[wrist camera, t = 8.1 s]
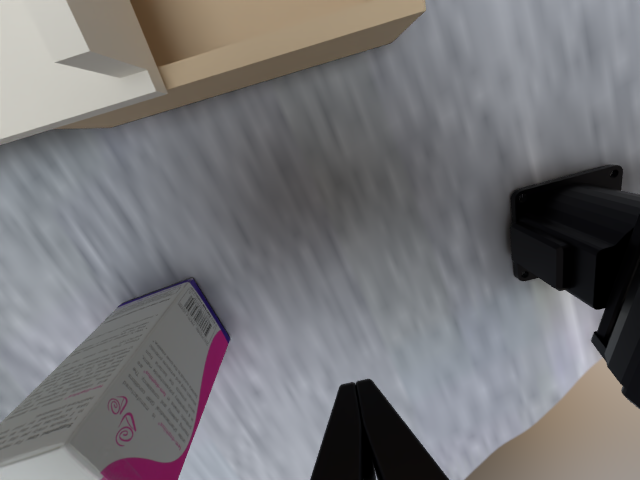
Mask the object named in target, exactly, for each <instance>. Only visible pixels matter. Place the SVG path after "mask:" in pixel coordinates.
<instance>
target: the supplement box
mask: <svg viewBox="0 0 640 480" xmlns="http://www.w3.org/2000/svg"><path fill="white" fill-rule="evenodd" d="M229 341H230V337H229V336H228V334H227V332H226V331H225V329H224V327H223V326H222V324H221V323H220V321H219V319H218V317H217V316H216V315H215V313H214V311H213V310H212V308H211V306H210V305H209V303H208V302H207V300H206V299H205V297H204V295H203V294H202V292H201V290H200V289H199V287H198V286H197V284H196V282H195V281H194V279H193V278H190V279H187V280H184V281H181V282H179V283H176V284H174V285H171V286H168V287H165V288H163V289H160V290H158V291H155V292H152V293H149V294H147V295H144V296H141V297H138V298H136V299H133V300H130V301H128V302H125V303H123V304H121V305H120V306H118V308H117V309H116V310H115V311H114V312H113V313H112V314H111V315H110V316H109V317H108V318H107V319H106V320H105V321H104V322H103V323H102V324H101V325H100V326H99V327H98V328H97V329H96V330H95V331H94V332H93V333H92V334H91V335H90V336H89V337H88V338H87V339H86V340H85V341H84V342H83V343H82V344H80V345H79V346H78V347H77V348H76V349H75V350H74V351H73V352H72V353H71V354H70V355H69V356H68V357H67V358H66V359H65V360H64V361H63V362H62V363H61V364H60V365H59V366H58V367H57V368H56V369H55V370H54V371H53V372H52V373H51V374H50V375H49V376H48V377H47V378H46V379H45V380H44V381H43V382H42V383H41V384H40V385H39V386H38V387H37V388H36V389H35V390H34V391H33V392H32V393H31V394H30V395H29V396H28V397H27V398H26V399H25V400H24V401H23V402H22V403H21V404H20V405H19V406H18V407H17V408H16V409H15V410H14V411H12V412H11V413H10V414H9V415H8V416H7V417H6V418H5V419H4V420H3V421H2V422H1V423H0V480H178V478H179V475H180V472H181V469H182V467H183V464H184V461H185V458H186V456H187V453H188V451H189V448H190V445H191V443H192V440H193V437H194V435H195V432H196V429H197V427H198V424H199V421H200V419H201V416H202V413H203V411H204V408H205V405H206V403H207V400H208V397H209V394H210V392H211V389H212V386H213V384H214V381H215V378H216V375H217V373H218V370H219V367H220V365H221V362H222V360H223V357H224V354H225V352H226V349H227V346H228V344H229Z"/></svg>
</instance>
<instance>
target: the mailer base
mask: <svg viewBox="0 0 640 480" xmlns="http://www.w3.org/2000/svg"><path fill="white" fill-rule="evenodd" d="M130 2H131V5H132V7H133V10H134V12H135V15H136V17H137V19H138V22H139V24H140V27H141V29H142V32H143V34H144V36H145V39H146V41H147V44H148V46H149V49H150V51H151V54H152V56H153V58H154V61H155V63H156V66H157V68H158V71H159V73H160V75H161V78H162V80H163V83H164V85H165V88H166V90H167V93H168V94H166V95H163V96H159V97H156V98H153V99H149V100H146V101H143V102H140V103H136V104H133V105H130V106H127V107H123V108H120V109H117V110H113V111H110V112H107V113H104V114H100V115H97V116H94V117H91V118H87V119H84V120H81V121H77V122H74V123H71V124H68V125H64V126H61V127H58V128H55V129H80V128H112V127H115V126H118V125H121V124H125V123H128V122H131V121H135V120H138V119H141V118H145V117H148V116H151V115H155V114H158V113H161V112H164V111H168V110H171V109H174V108H178V107H181V106H184V105H188V104H191V103H194V102H198V101H201V100H204V99H208V98H211V97H214V96H217V95H221V94H224V93H227V92H231V91H234V90H237V89H241V88H244V87H247V86H251V85H254V84H257V83H260V82H264V81H267V80H270V79H274V78H277V77H280V76H284V75H287V74H290V73H294V72H297V71H300V70H303V69H307V68H310V67H313V66H317V65H320V64H323V63H327V62H330V61H333V60H337V59H340V58H343V57H347V56H350V55H353V54H356V53H360V52H363V51H366V50H370V49H373V48H376V47H380V46H383V45H386V44H390V43H392V42H393V41H394V40H395V39H396V38H397V37H398V36H399V35H400V34H402V33H403V32H404V31H405V30H406V29H407V28H408V27H409V26H410V25H411V24H412V23H413V22H414V21H415V20H416V19H417V18H418V17H419V16H421V15H422V14H423V13H424V12H425V11H426V6H425V0H130Z"/></svg>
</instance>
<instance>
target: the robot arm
mask: <svg viewBox="0 0 640 480" xmlns="http://www.w3.org/2000/svg"><path fill="white" fill-rule="evenodd" d="M612 171H613V172H612ZM611 172H612V174H611ZM610 174H611V176H610ZM622 175H623V169H622V167H621V166H618V165H607V166H603V167H599V168H595V169H592V170H588V171H584V172H581V173H577V174H573V175H569V176H566V177H562V178H558V179H554V180H551V181H547V182H543V183H539V184H536V185H532V186H528V187H524V188H521V189H518V190H516V191H514V192H513V194H512V196H511V211H512V225H511V227H510V229H511V252H512V260H513V261H514V275H515V277H516V278H518V279H519V280H520V281H527V280H531V279H535V278H540V279H542V280H543V281H545V282H546V283H548V284H549V285H551V286H552V287H554V288H555V289H557V290H559V291H563V290H566V291H568V292H569V293H571V294H572V295H574V296H575V297H577V298H578V299H580V300H582V301H583V302H585V303H586V304H588V305H589V306H591V307H592V308H594V309H596V310H599V309H603V308H605V310H604V313H603V316H602V319H601V322H600V324H599V327H598V330H597V331H595V332H594V334H593V337H592V339H591V342H592V343H593V344H594V346H595V347H596V349H597V350H598V351H599V353H600V354H601V355H602V357H603V358H604V359H605V361H606V362H607V367H608V368H609V369H610V370H611V372H612V373H613V374H614V376H615V377H616V378H617V380H618V381H619V382H620V384H622V385H623V387H622V393H623V395H624V396H625V397H626V398H627V399H628V400H629V401H630V402H632V403H633V404H634V405H635V406H636V407H638V408H639V409H640V195H639V194H634V193H630V192H625V191H621V186H622ZM522 194H523V198H522V199H521V200H519V197H520V196H521V195H522ZM523 272H525V273H524V274H523V275H522V273H523ZM374 468H375V469H374ZM375 472H376V475H375ZM376 476H377V479H378V480H449V479H448V477H447V476H446V475H445V474H444V472H443V471H442V470H441V468H440V467H439V466H438V465H437V463H436V462H435V461H434V459H433V458H432V457H431V456H430V454H429V453H428V452H427V450H426V449H425V448H424V447H423V445H422V444H421V443H420V441H419V440H418V439H417V438H416V436H415V435H414V434H413V432H412V431H411V430H410V429H409V427H408V426H407V425H406V423H405V422H404V421H403V420H402V418H401V417H400V416H399V414H398V413H397V412H396V411H395V409H394V408H393V407H392V405H391V404H390V403H389V402H388V400H387V399H386V398H385V396H384V395H383V394H382V393H381V391H380V390H379V389H378V387H377V386H376V385H375V384H374V382H373V381H372V380H371V379H365V380H360V381H357V382H356V384H355V383H354V382H351V383H346V384H342V385H341V386H340V387H339V390H338V393H337V396H336V399H335V402H334V406H333V409H332V412H331V415H330V418H329V422H328V425H327V428H326V431H325V434H324V437H323V441H322V444H321V447H320V450H319V453H318V457H317V460H316V463H315V466H314V469H313V473H312V476H311V479H310V480H376Z"/></svg>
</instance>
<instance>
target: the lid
mask: <svg viewBox="0 0 640 480" xmlns="http://www.w3.org/2000/svg"><path fill="white" fill-rule="evenodd" d="M166 94H168V93H167V90H166V88H165V85H164V83H163V80H162V78H161V75H160V73H159V71H158V68H157V66H156V63H155V61H154V58H153V56H152V54H151V51H150V49H149V46H148V44H147V41H146V39H145V36H144V34H143V32H142V29H141V27H140V24H139V22H138V19H137V17H136V15H135V12H134V10H133V7H132V5H131V2H130V0H0V145H2V144H5V143H9V142H12V141H15V140H19V139H22V138H25V137H28V136H32V135H35V134H38V133H41V132H45V131H48V130H51V129H55V128H58V127H61V126H64V125H68V124H71V123H74V122H77V121H81V120H84V119H87V118H91V117H94V116H97V115H100V114H104V113H107V112H110V111H113V110H117V109H120V108H123V107H127V106H130V105H133V104H136V103H140V102H143V101H146V100H149V99H153V98H156V97H159V96H163V95H166Z"/></svg>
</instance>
